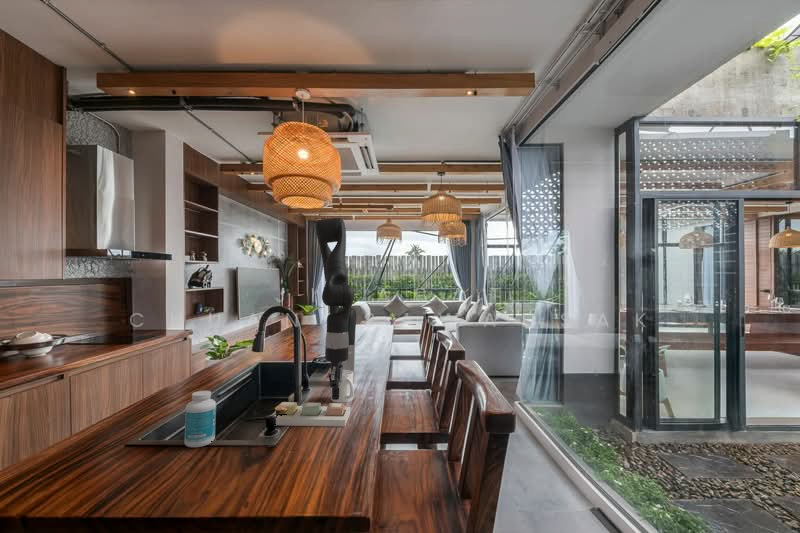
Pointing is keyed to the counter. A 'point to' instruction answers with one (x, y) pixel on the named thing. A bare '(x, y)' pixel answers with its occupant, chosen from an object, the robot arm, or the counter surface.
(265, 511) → the counter surface
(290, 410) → the key
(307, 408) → the key
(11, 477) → the counter surface
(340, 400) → the mug
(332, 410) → the key
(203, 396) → the pill bottle
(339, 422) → the keypad
